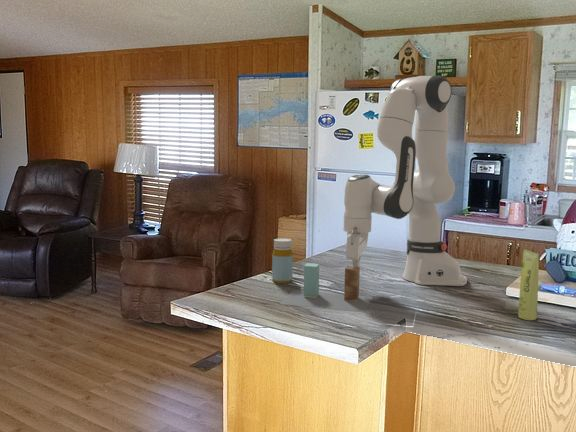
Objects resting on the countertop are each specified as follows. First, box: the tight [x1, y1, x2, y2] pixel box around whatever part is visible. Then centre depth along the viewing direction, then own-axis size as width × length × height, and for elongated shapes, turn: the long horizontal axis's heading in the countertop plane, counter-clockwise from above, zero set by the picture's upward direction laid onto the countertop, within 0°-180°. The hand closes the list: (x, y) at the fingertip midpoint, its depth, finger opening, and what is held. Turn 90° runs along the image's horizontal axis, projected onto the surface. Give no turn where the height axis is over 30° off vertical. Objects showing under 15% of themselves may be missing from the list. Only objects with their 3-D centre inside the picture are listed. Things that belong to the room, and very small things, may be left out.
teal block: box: [303, 262, 320, 298], centre depth 184 cm, size 4×4×10 cm
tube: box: [517, 248, 540, 321], centre depth 164 cm, size 6×5×20 cm
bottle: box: [271, 237, 294, 284], centre depth 201 cm, size 7×7×15 cm
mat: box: [279, 290, 373, 313], centre depth 179 cm, size 26×16×1 cm, turn 74°
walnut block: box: [343, 265, 361, 301], centre depth 180 cm, size 4×4×10 cm
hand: (356, 267), depth 187 cm, fingers closed
